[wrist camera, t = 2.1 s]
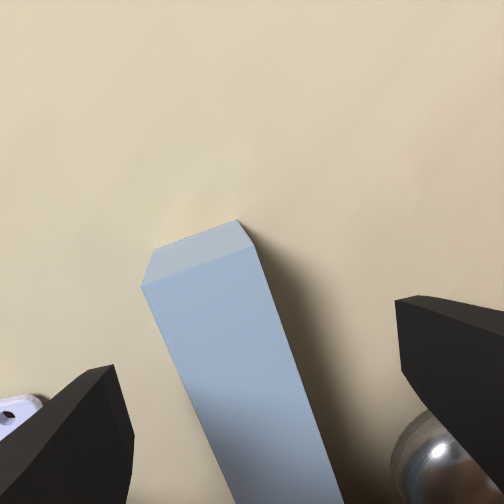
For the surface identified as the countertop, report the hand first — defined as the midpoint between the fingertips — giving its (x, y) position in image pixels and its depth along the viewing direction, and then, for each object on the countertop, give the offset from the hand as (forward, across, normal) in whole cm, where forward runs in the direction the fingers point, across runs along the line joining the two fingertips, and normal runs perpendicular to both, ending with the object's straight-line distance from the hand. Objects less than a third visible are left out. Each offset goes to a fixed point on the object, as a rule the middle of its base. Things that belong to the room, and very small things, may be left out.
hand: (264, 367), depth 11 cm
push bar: (+4, 0, +4) cm, 6 cm away
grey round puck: (+4, -7, +8) cm, 11 cm away
